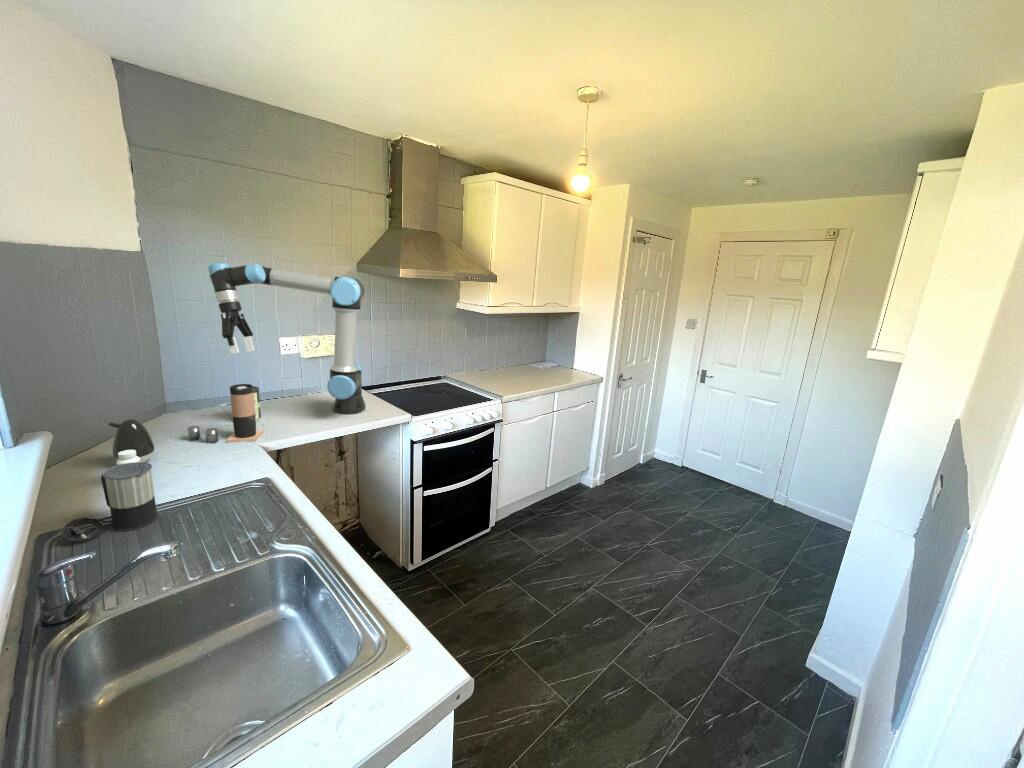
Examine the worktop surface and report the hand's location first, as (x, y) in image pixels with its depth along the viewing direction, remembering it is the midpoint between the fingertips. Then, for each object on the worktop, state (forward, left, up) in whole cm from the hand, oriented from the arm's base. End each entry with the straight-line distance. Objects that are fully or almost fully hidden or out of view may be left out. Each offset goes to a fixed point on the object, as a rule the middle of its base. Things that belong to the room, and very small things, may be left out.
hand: (243, 352), depth 174 cm
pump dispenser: (+21, +42, -31) cm, 56 cm away
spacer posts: (+5, +16, -30) cm, 35 cm away
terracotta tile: (-5, +21, -30) cm, 37 cm away
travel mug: (-5, +21, -30) cm, 36 cm away
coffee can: (+1, -1, -31) cm, 31 cm away
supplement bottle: (+15, +56, -31) cm, 65 cm away
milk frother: (+5, +82, -31) cm, 88 cm away
